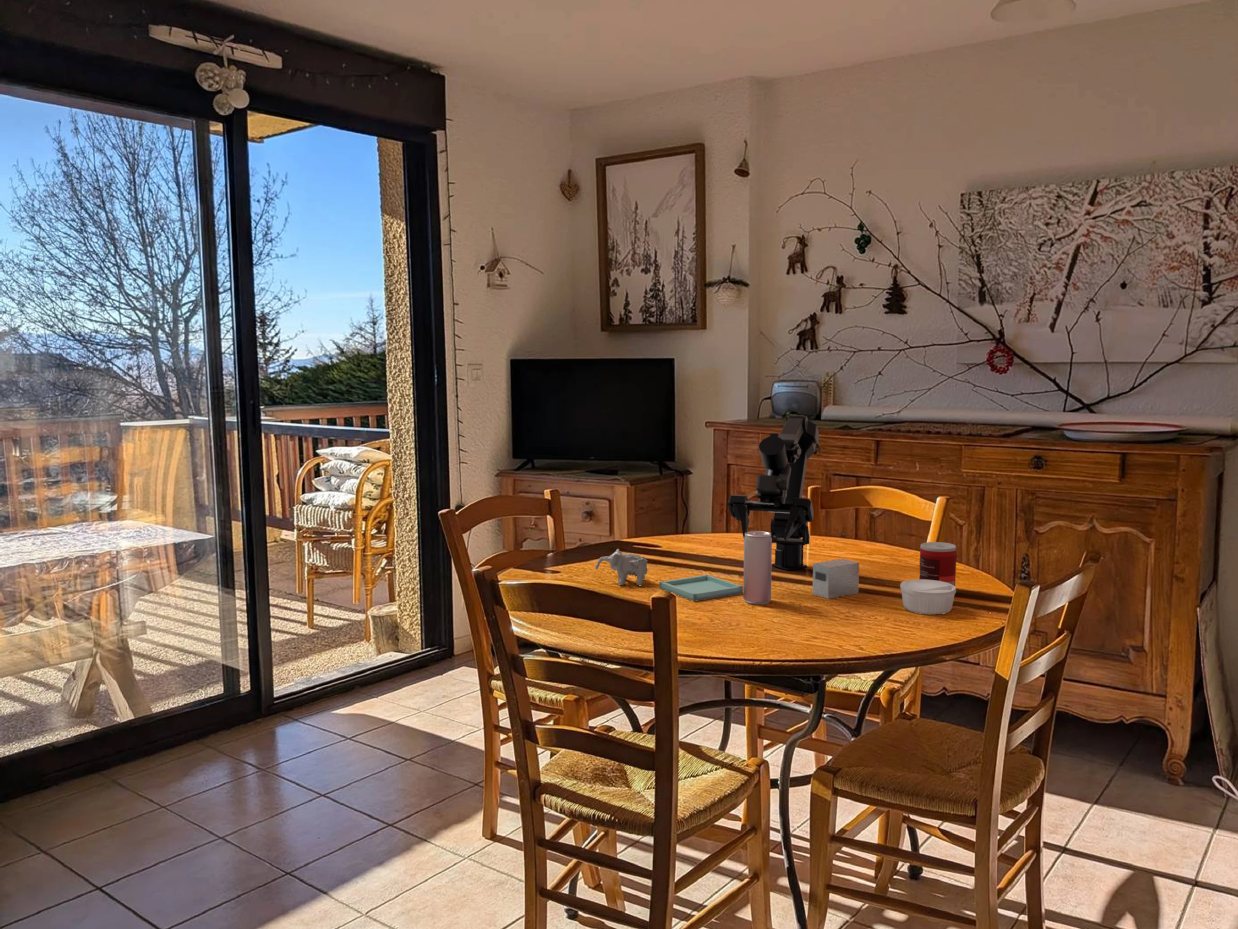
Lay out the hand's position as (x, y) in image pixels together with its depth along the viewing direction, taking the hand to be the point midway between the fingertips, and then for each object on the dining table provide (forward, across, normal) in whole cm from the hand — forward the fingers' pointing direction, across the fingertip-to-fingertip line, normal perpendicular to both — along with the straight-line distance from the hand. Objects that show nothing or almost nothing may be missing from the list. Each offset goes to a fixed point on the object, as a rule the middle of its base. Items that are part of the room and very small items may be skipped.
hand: (764, 538), depth 219 cm
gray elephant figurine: (+10, -33, +9) cm, 36 cm away
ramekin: (+10, +35, +9) cm, 37 cm away
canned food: (-1, +36, +19) cm, 41 cm away
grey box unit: (+5, +15, +13) cm, 20 cm away
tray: (+10, -14, +8) cm, 19 cm away
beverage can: (+14, 0, +5) cm, 14 cm away
